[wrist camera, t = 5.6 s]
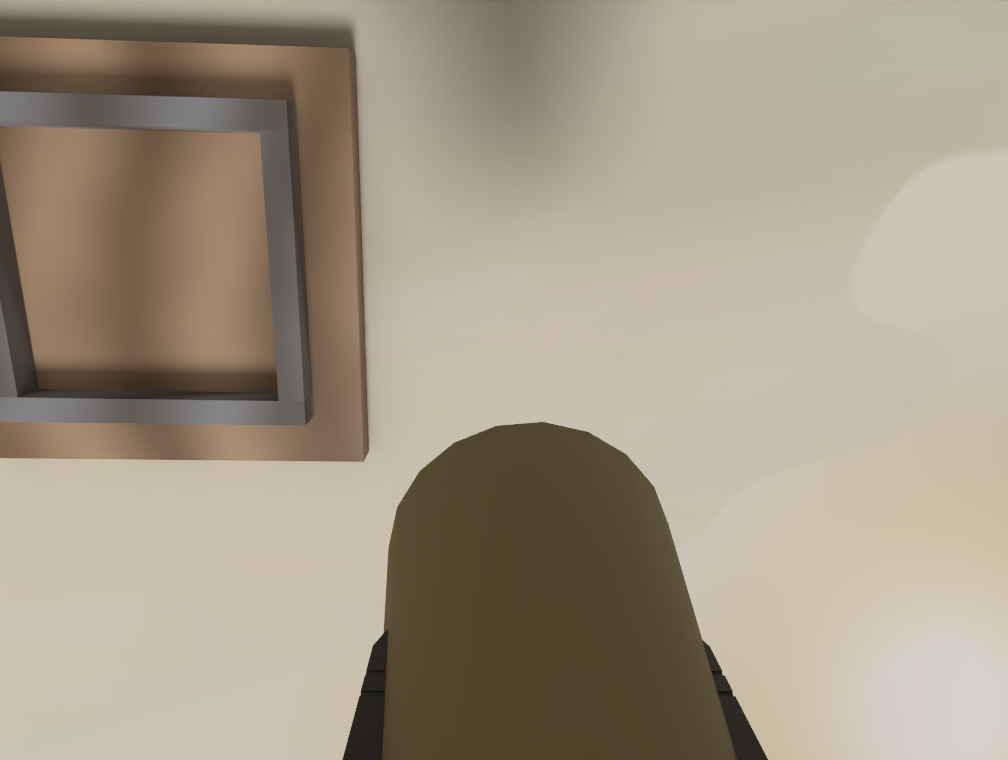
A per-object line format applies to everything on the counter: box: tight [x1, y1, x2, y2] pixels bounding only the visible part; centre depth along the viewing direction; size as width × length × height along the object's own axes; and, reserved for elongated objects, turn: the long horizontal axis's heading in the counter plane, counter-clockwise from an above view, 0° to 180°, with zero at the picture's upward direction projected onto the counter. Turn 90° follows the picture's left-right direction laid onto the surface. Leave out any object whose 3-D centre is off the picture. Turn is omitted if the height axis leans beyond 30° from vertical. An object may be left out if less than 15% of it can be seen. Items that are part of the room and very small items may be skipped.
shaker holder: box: [0, 36, 369, 462], centre depth 24 cm, size 16×16×2 cm
